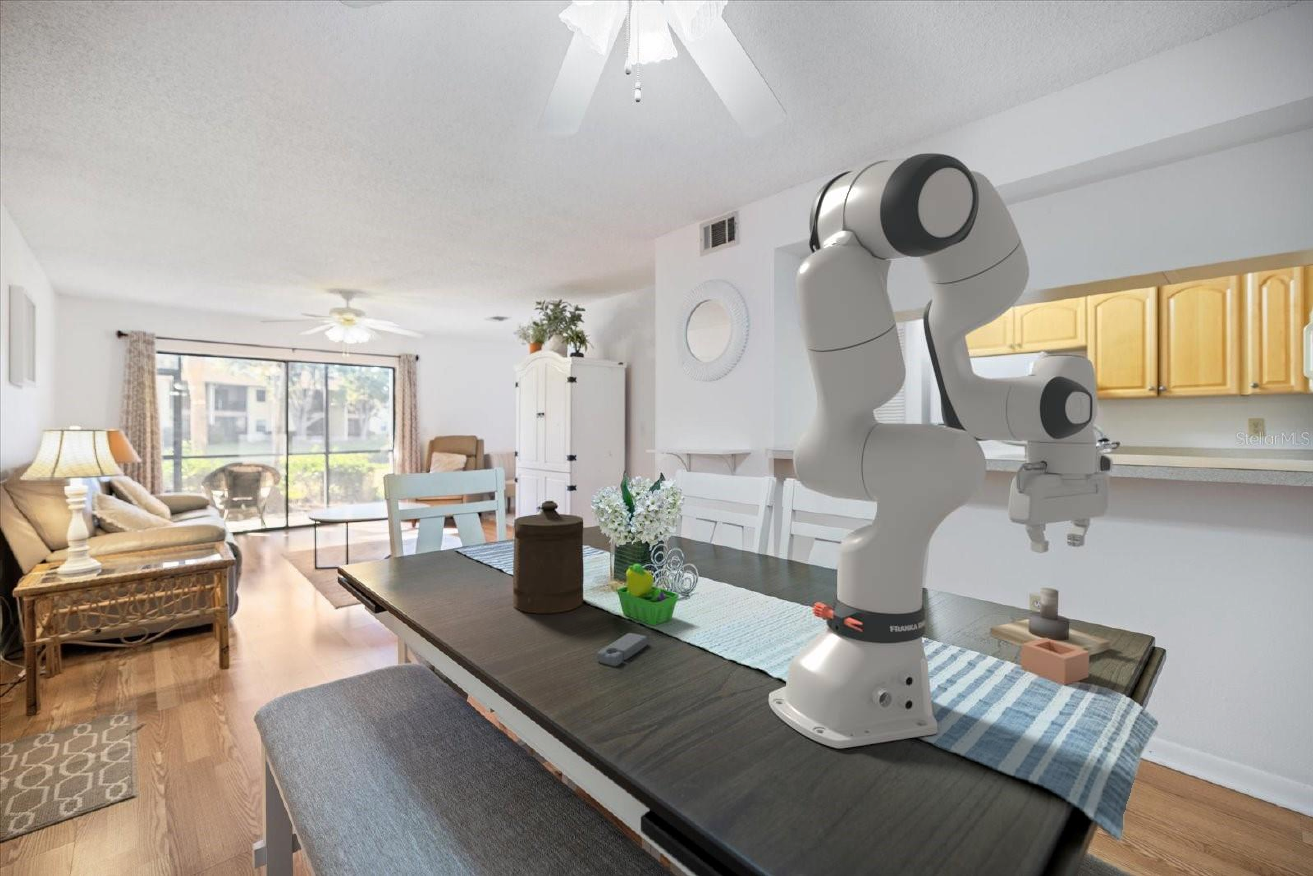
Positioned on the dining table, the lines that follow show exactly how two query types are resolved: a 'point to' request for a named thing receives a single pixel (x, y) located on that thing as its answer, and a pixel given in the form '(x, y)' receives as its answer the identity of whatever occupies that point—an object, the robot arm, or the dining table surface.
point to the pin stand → (1048, 628)
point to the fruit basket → (645, 597)
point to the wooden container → (548, 561)
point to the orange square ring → (1055, 661)
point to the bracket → (621, 649)
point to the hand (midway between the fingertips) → (1058, 548)
